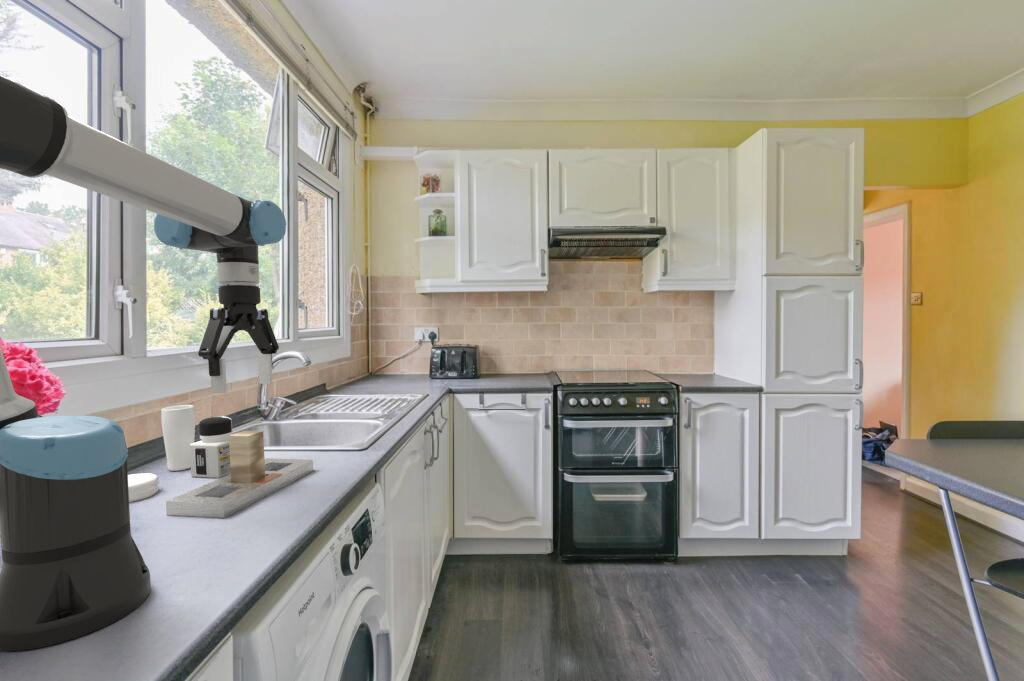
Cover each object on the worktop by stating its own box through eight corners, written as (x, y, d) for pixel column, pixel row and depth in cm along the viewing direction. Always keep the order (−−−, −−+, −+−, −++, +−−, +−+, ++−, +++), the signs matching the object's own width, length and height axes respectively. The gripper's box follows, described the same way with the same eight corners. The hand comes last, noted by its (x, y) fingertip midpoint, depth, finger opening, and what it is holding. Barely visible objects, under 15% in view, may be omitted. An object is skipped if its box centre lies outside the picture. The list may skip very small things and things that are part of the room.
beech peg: (251, 494, 101) (248, 436, 100) (231, 493, 102) (228, 435, 101) (265, 486, 105) (263, 431, 105) (246, 486, 106) (244, 430, 105)
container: (219, 478, 112) (216, 421, 111) (190, 477, 113) (187, 420, 112) (244, 468, 119) (241, 414, 118) (216, 467, 121) (214, 414, 120)
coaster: (90, 499, 101) (90, 482, 100) (148, 485, 109) (148, 469, 108) (106, 509, 95) (105, 491, 94) (166, 494, 103) (165, 477, 102)
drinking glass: (164, 467, 121) (161, 406, 120) (197, 462, 125) (194, 403, 124) (163, 474, 115) (160, 410, 115) (197, 469, 119) (194, 407, 118)
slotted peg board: (224, 518, 89) (223, 503, 88) (166, 514, 91) (165, 500, 91) (313, 470, 116) (312, 459, 116) (267, 468, 118) (267, 457, 118)
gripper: (208, 279, 89) (213, 397, 89) (293, 288, 113) (296, 380, 114) (172, 281, 90) (177, 397, 91) (263, 289, 114) (267, 380, 115)
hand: (244, 388), depth 102 cm, fingers open, 13 cm apart
